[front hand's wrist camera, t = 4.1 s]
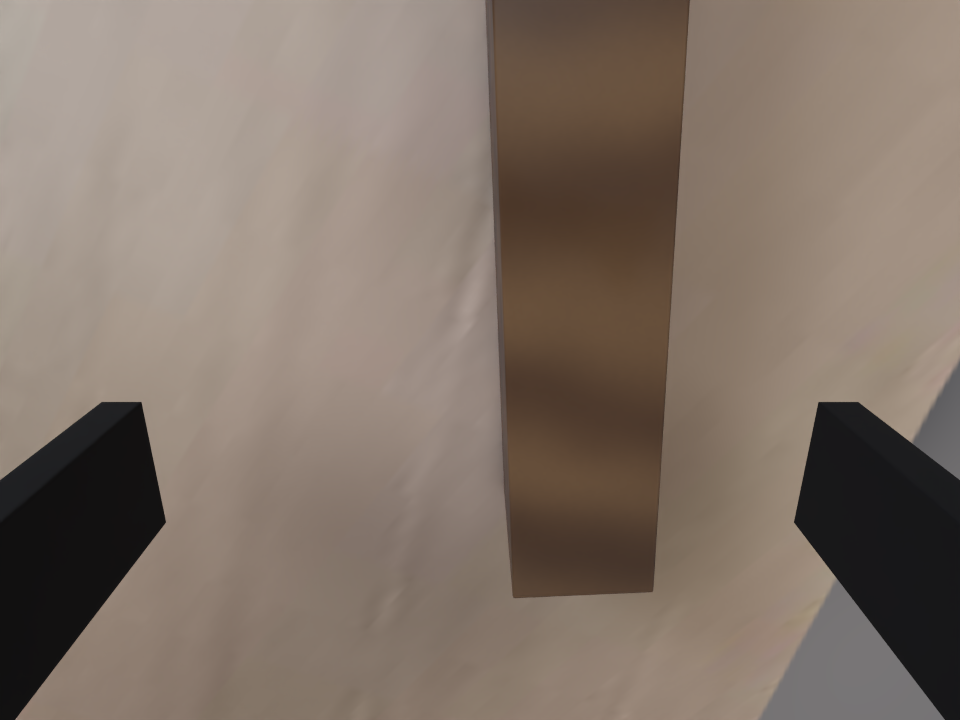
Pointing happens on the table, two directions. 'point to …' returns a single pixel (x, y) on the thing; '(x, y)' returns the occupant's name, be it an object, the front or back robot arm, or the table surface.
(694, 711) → the table surface
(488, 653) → the table surface
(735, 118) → the table surface
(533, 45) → the post
